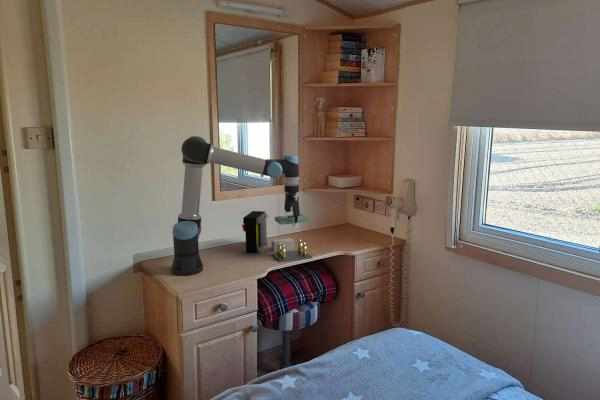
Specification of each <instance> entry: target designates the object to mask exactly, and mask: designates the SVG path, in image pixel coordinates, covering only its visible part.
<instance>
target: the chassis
mask: <svg viewBox="0 0 600 400" xmlns="http://www.w3.org/2000/svg"><path fill="white" fill-rule="evenodd" d="M272 256H273V257H274V258H275V259H276V261H278V262H279V263H286V262H292V261H293V262H294V261H301V260H302V261H303V260H309V259H313V256H312V255H311V254H310V253H308V245H307V244H306V242H305V241H304V242H302V239H300V238H299V240H298V243H297V250H289V251H288V250H286V248H284V245H281V242H279V245H277V251H276V252H272Z"/></svg>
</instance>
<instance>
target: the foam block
mask: <svg viewBox="0 0 600 400" xmlns="http://www.w3.org/2000/svg"><path fill="white" fill-rule="evenodd" d="M279 242H281V245H284V248H286V251H288V250H289V251H291V250H295V239H293V238H290V237H289V238H282V239H272V240H271V250H272V251H273V252H277V245H279Z"/></svg>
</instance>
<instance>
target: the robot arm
mask: <svg viewBox="0 0 600 400" xmlns="http://www.w3.org/2000/svg"><path fill="white" fill-rule="evenodd" d="M180 148H181V154H182V162H181V163H182V164H183V165H184V176H183V177H184V178H183V191H182V201H181V203H182V204H181V212H180V214H178V216H177V222H176V223H175V224H173V226H172V239H173V240H172V241H173V254H174V255H173V260H172V263H171V268H170V269H171V273H172V274H173V275H175V276H183V277H184V276H193V275H196V274H199V273H201V272H203V270H204V264H203V261H202V259H201V258H202V257H201V256H200V253H199V252H200V251H199V250H200V249H199V238H200V235H201V232H202V216H201V214H200V204H201V202H200V201H201V193H202V191H201V190H202V180H203V168H204V167H205V166H206V165H209V164H214V165H219V166H224V167H228V168H233V169H237V170H240V171H241V170H242V171H244V172H245V171H246V172H249V173H254V174H258V175H262V176H266V177H270V178H272V179H278V178H280V177H281V176H282V174H284V175H283V176H284V177H283V179H284V180H283V183H284V187H283V188H284V189H283V190H284V193H285V194H284V195H285V198H284V206H283V207H284V211H285V216H289V215H293V216H292V217H293V224H292V229H293V230H296V229H299V223H298V216H300V214H301V211H300V204H299V203H300V202H299V200H300V198H299V196H297V193H299V192H300V187H299V186H300V185H299V184H300V181H299V180H300V175H299V174H300V172H299V171H300V170H299V169H300V168H299V167H300V166H299V156H298V155H297V154H285V155H283V158H279V159H277V158H276V159H275V158H274V159H272V158H271V159H269V158H267V159H264V158H260V157H256V156H254V155H253V156H252V155H249V154H244V153H241V152H240V153H239V152H236V151H232V150H228V149H224V148H219V147H216V146H214V145H213V144H212V143H209V142H207V141H206V140H205V139H204V138H203V137H202V136H197V135H191V136H190V137H187V138H186V139H185V140H184V141H183V142H182V143H181V147H180Z"/></svg>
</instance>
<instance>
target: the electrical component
mask: <svg viewBox="0 0 600 400" xmlns="http://www.w3.org/2000/svg"><path fill="white" fill-rule="evenodd" d="M268 216H269V214H268V213H267V212H266V211H263V210H261V211H260V210H252V211H250V212H249V213H248V214H246V215H245V216H244V217H243V218H242V220H243V221H242V225H241V227H242V230H243V232H245V253H246V254H253V255H254V254H255V255H257V254H259V253H260V252H262V250H263V249H264V248H265V247H266V245H269V240H268V239H267V238H268V237H267V236H268V235H267V233H268V232H267V230H268V229H267V218H269V217H268Z"/></svg>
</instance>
